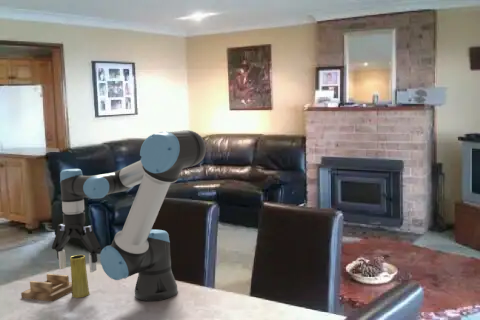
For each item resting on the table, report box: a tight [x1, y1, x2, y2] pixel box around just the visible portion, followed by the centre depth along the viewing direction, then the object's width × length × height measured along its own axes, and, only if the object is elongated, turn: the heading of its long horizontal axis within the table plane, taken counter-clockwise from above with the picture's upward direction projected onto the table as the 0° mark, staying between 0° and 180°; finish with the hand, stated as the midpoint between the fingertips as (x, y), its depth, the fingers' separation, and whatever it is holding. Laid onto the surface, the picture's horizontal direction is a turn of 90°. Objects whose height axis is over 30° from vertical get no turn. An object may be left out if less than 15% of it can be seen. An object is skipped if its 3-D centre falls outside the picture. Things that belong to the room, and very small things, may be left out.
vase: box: [69, 254, 90, 299], centre depth 183 cm, size 6×6×14 cm
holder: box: [20, 273, 72, 302], centre depth 187 cm, size 14×14×6 cm
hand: (77, 269), depth 183 cm, fingers open, 13 cm apart
